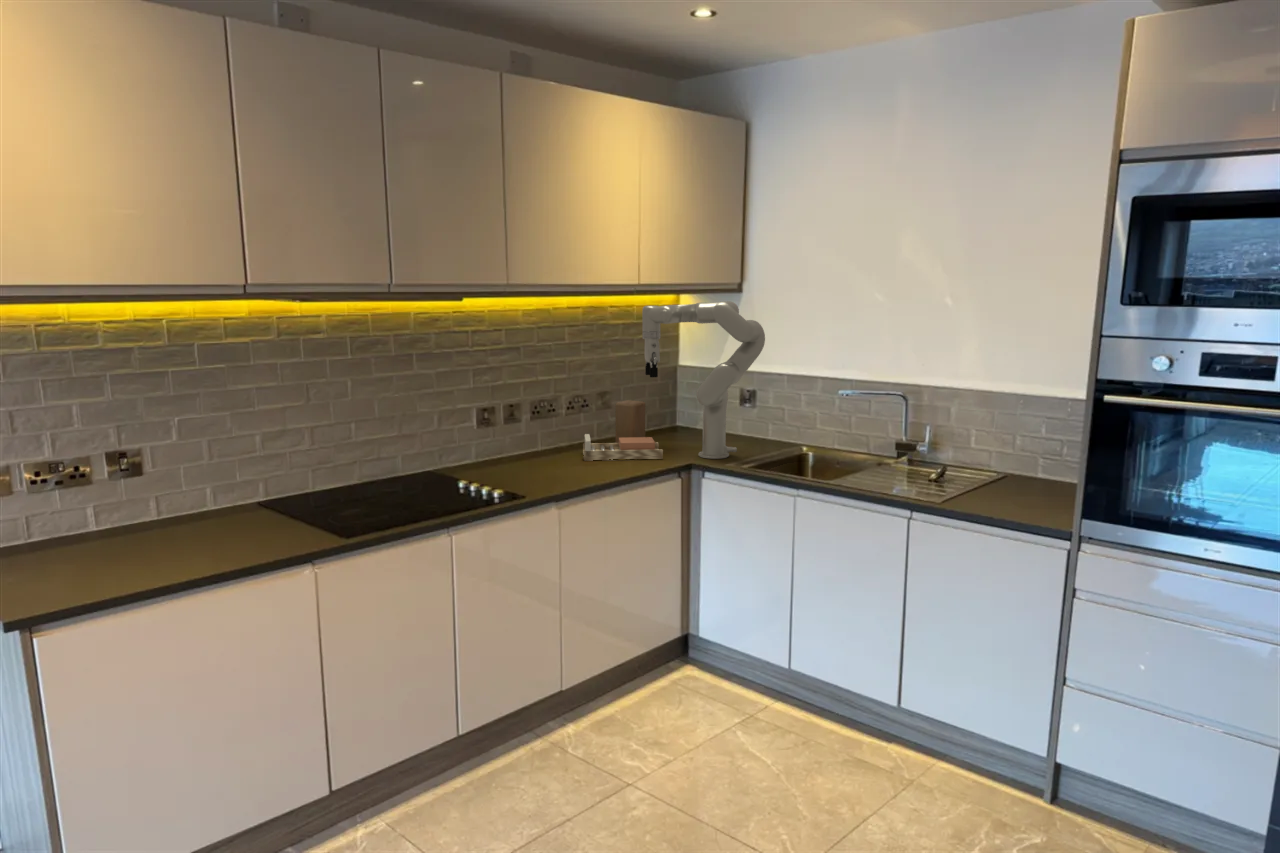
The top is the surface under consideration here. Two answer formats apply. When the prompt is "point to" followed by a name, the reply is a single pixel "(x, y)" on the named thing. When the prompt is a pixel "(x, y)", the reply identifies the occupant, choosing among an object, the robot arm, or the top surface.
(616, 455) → the roller bed
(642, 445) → the slab
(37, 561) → the top surface
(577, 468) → the top surface
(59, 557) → the top surface
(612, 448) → the rollers
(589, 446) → the end stop
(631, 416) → the wooden block
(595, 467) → the top surface
